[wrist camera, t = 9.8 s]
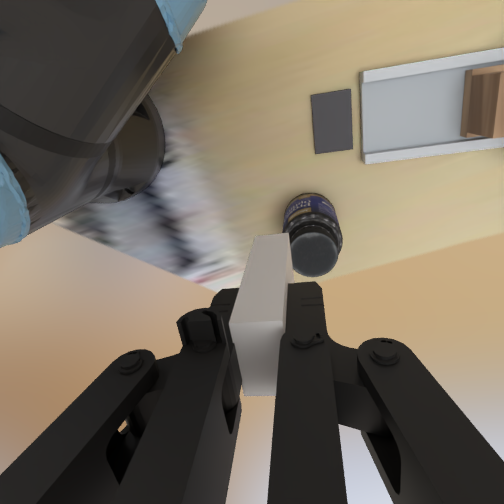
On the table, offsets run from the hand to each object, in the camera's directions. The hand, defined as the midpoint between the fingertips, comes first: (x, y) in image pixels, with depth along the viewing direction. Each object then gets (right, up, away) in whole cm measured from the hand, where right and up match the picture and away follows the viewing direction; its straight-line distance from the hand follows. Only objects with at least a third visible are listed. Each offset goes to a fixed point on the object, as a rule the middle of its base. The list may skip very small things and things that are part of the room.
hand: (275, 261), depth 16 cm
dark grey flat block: (+8, +14, +22) cm, 27 cm away
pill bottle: (+6, +5, +27) cm, 28 cm away
